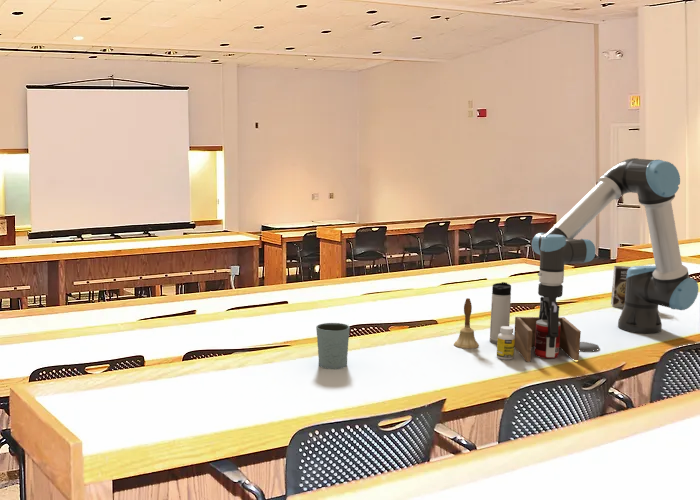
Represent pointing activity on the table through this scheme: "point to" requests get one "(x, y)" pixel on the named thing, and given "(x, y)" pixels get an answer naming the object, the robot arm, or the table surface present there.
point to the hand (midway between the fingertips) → (546, 352)
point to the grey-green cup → (332, 345)
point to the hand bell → (467, 330)
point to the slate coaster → (588, 346)
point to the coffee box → (619, 286)
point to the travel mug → (499, 309)
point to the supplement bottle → (506, 343)
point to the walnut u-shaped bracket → (527, 331)
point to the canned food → (544, 339)
